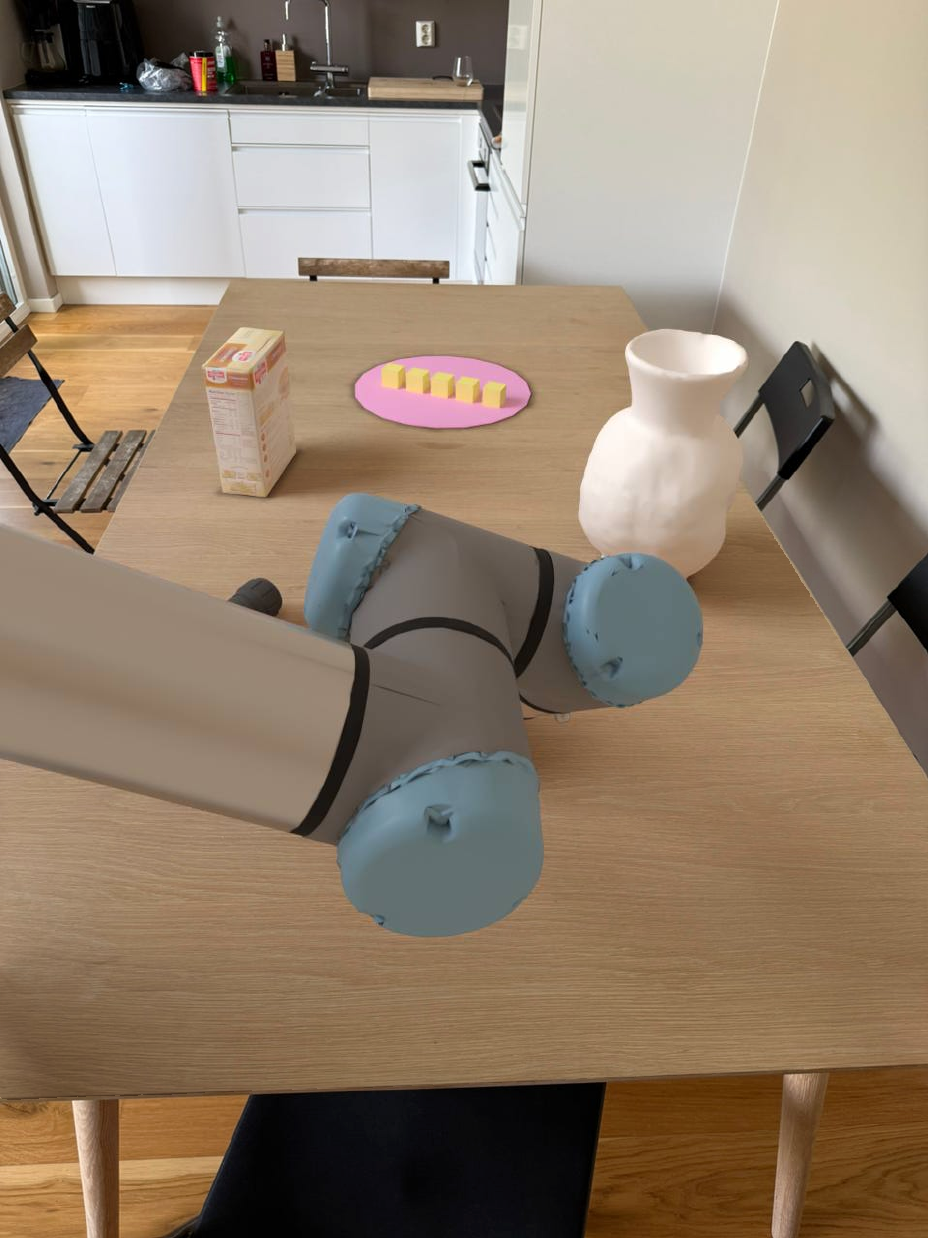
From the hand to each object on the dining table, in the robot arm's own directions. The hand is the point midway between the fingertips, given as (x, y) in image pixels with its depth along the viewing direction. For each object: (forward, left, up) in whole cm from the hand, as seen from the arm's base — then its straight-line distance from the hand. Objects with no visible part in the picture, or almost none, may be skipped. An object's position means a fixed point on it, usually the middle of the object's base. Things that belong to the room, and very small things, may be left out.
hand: (423, 691), depth 77 cm
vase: (+37, +31, -14) cm, 50 cm away
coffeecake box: (-9, +69, -14) cm, 70 cm away
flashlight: (-16, +27, -14) cm, 35 cm away
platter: (+26, +93, -14) cm, 97 cm away
